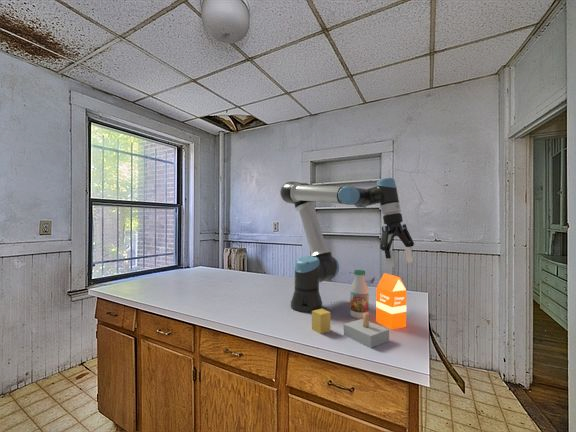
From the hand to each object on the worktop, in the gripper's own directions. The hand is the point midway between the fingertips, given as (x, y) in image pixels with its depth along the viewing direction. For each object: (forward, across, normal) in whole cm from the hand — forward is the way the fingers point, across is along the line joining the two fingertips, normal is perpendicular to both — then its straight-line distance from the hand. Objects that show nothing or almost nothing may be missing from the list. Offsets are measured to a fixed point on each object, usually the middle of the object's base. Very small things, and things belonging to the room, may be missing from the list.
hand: (401, 264), depth 114 cm
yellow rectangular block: (+20, -34, +16) cm, 43 cm away
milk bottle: (+21, -10, +18) cm, 29 cm away
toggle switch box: (+23, -25, +2) cm, 34 cm away
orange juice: (+23, -6, +6) cm, 25 cm away
